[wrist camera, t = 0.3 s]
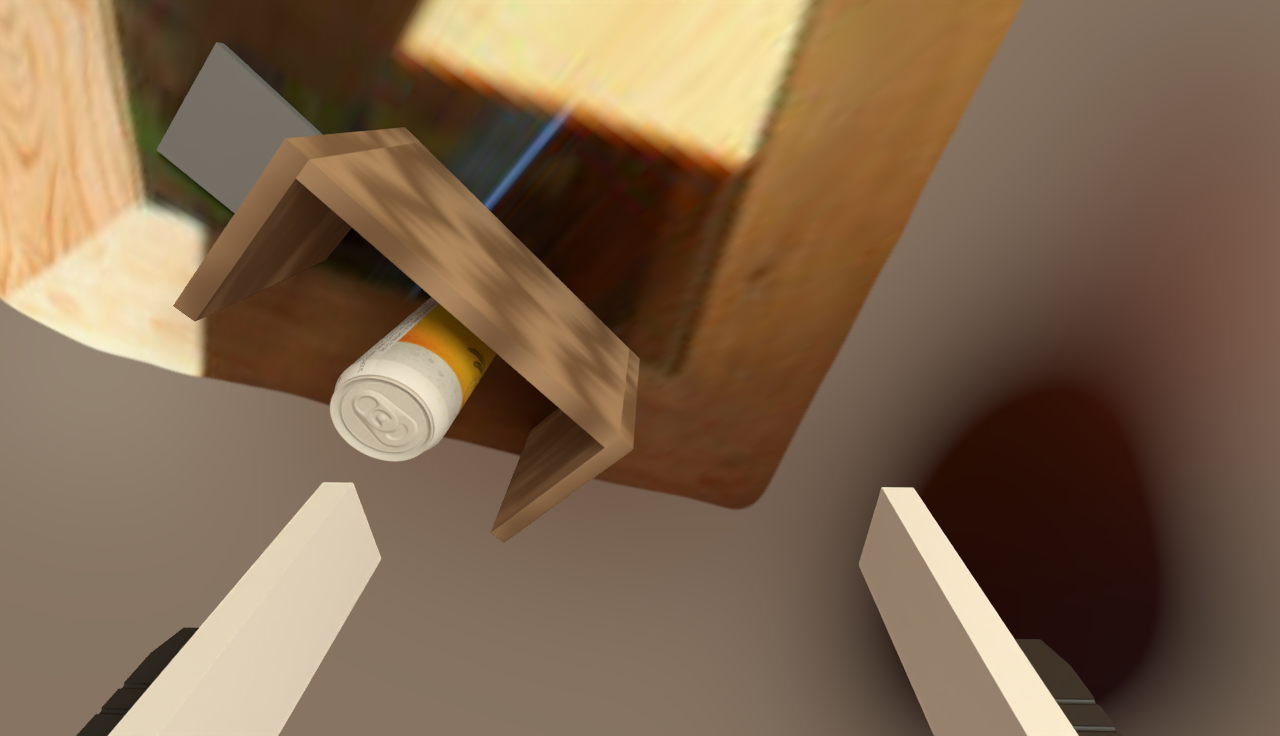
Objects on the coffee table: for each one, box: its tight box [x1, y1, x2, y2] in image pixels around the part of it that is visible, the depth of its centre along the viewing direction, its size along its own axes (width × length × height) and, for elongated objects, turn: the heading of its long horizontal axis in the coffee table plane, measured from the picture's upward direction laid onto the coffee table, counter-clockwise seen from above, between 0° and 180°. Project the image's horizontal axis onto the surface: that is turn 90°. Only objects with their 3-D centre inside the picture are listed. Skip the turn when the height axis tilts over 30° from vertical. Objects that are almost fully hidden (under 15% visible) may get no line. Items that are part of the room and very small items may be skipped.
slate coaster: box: [157, 42, 323, 213], centre depth 34 cm, size 9×9×1 cm
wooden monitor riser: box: [173, 127, 639, 542], centre depth 33 cm, size 23×12×12 cm, turn 42°
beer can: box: [330, 297, 497, 462], centre depth 32 cm, size 6×6×15 cm
